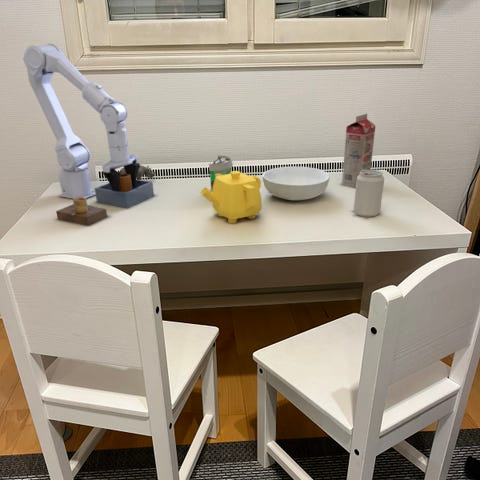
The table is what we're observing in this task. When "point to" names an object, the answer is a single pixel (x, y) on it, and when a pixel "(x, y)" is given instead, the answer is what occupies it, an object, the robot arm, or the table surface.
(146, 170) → the rhino figurine
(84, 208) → the tap knob
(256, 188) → the teapot
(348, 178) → the juice carton
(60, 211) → the panel
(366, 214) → the can
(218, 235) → the table surface
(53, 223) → the table surface
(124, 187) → the jar
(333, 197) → the table surface
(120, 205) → the blue open tray
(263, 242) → the table surface
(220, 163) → the grey green irregular piece
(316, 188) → the serving bowl
